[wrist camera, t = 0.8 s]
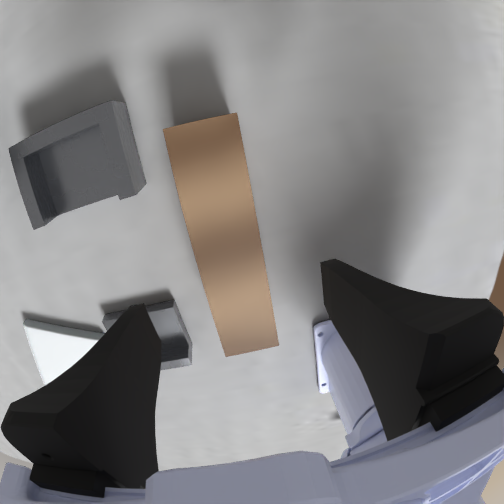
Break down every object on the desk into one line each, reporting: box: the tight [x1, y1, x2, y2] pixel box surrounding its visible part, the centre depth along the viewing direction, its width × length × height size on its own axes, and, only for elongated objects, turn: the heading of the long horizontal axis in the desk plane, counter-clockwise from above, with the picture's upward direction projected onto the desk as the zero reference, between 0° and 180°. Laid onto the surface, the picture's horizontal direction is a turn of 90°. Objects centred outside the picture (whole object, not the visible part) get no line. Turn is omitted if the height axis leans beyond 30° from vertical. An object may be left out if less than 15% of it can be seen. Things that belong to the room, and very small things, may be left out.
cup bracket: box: [9, 100, 146, 230], centre depth 16 cm, size 6×8×3 cm
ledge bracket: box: [102, 300, 192, 370], centre depth 22 cm, size 4×6×2 cm
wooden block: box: [163, 113, 279, 357], centre depth 18 cm, size 14×4×5 cm, turn 10°
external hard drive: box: [23, 319, 105, 385], centre depth 24 cm, size 2×8×12 cm
